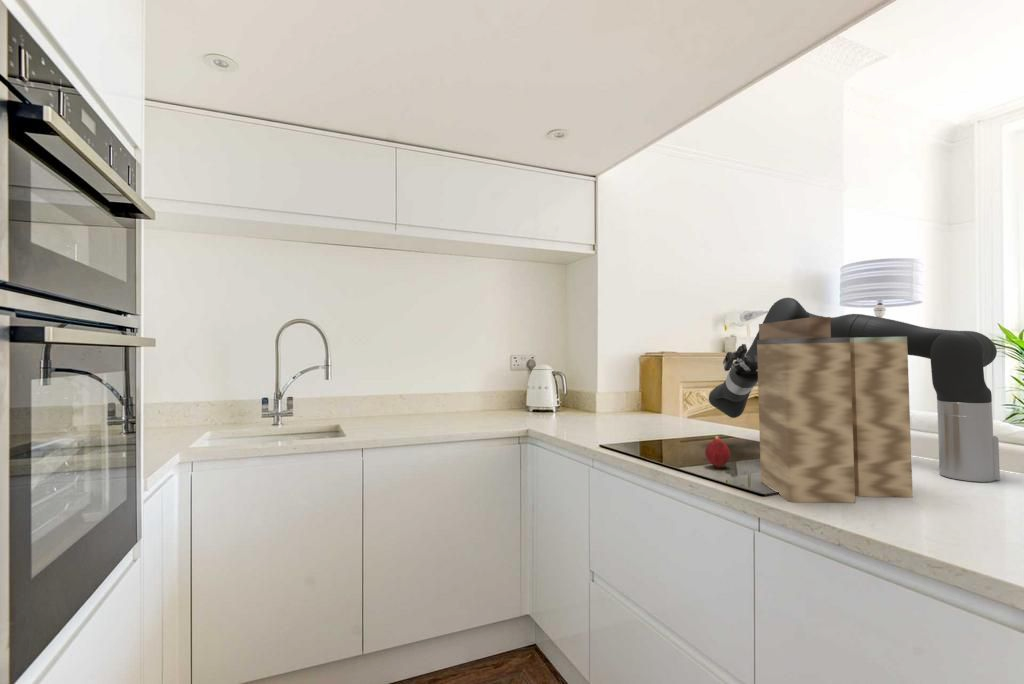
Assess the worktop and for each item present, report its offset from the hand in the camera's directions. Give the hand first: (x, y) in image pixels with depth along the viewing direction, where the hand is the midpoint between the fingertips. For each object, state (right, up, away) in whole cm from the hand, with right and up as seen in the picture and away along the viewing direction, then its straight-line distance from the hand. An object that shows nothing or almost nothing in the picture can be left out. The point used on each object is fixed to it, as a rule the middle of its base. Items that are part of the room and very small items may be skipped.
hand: (762, 346), depth 122 cm
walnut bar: (-2, +2, -15) cm, 15 cm away
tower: (+13, -30, -17) cm, 37 cm away
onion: (-10, -31, +2) cm, 33 cm away
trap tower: (-1, -30, -20) cm, 36 cm away
